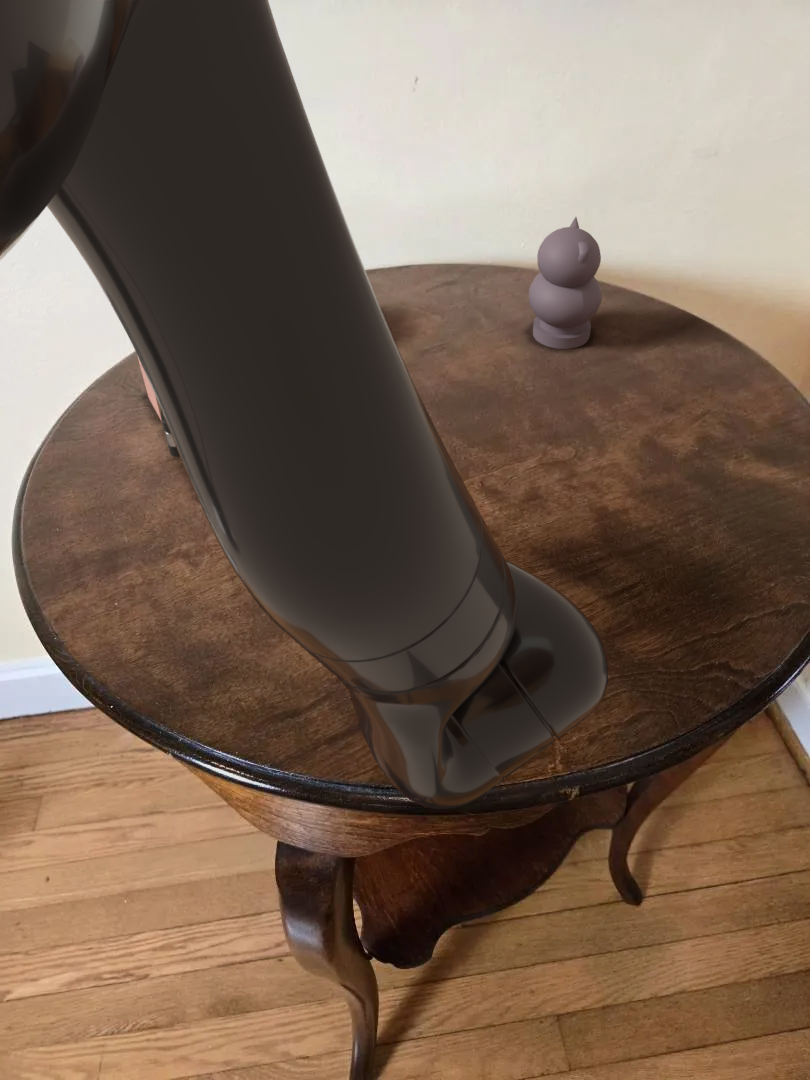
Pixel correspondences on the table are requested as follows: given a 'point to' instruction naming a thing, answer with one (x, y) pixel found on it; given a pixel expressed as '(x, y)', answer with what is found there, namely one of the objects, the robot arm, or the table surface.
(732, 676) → the table surface
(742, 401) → the table surface
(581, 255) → the cat figurine
